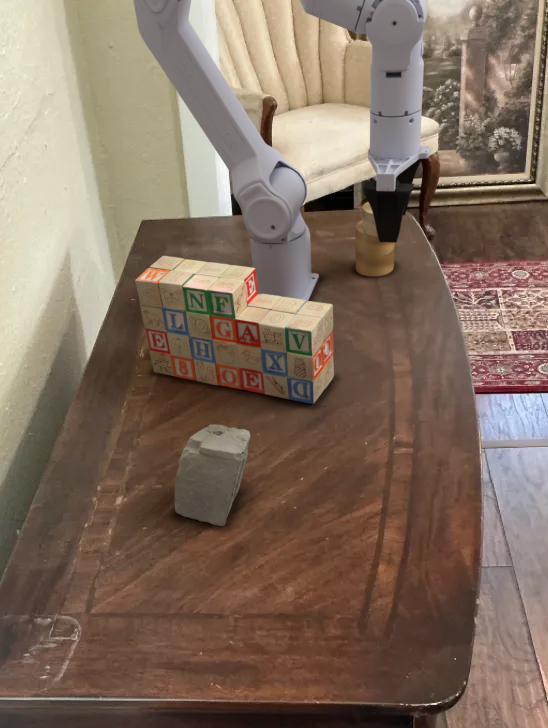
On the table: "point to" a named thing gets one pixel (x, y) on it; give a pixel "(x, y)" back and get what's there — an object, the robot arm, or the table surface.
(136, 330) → the table surface
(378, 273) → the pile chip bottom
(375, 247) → the pile chip top
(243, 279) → the stack of blocks
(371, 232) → the tan wooden cylinder
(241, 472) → the mineral specimen
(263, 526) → the table surface
